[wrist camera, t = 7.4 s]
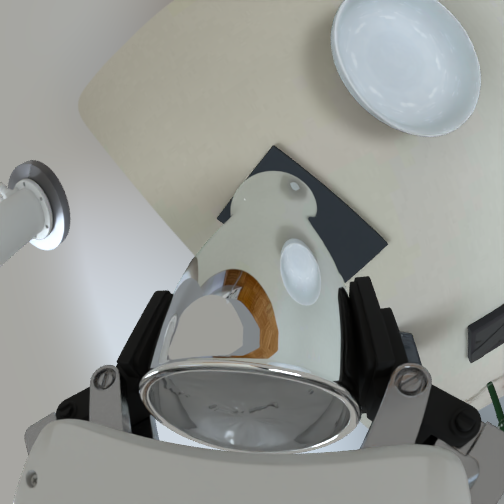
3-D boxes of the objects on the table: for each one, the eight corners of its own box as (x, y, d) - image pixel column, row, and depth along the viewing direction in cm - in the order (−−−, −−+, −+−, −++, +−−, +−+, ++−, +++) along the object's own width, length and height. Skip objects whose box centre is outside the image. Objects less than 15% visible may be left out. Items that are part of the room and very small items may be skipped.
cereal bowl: (470, 96, 22) (502, 101, 16) (378, 152, 29) (399, 167, 23) (397, -16, 16) (419, -34, 11) (293, 35, 23) (294, 19, 17)
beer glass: (333, 174, 18) (418, 372, 5) (311, 260, 21) (322, 460, 9) (230, 157, 18) (102, 324, 5) (221, 245, 22) (152, 434, 9)
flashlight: (480, 388, 55) (495, 440, 38) (489, 379, 52) (506, 431, 35) (488, 387, 55) (504, 436, 38) (498, 377, 52) (515, 427, 35)
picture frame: (467, 356, 47) (521, 323, 40) (470, 364, 45) (525, 329, 38) (468, 326, 42) (527, 287, 35) (471, 333, 40) (532, 293, 33)
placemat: (217, 217, 36) (216, 219, 36) (273, 144, 31) (273, 145, 30) (328, 294, 41) (328, 297, 41) (386, 242, 35) (388, 244, 35)
